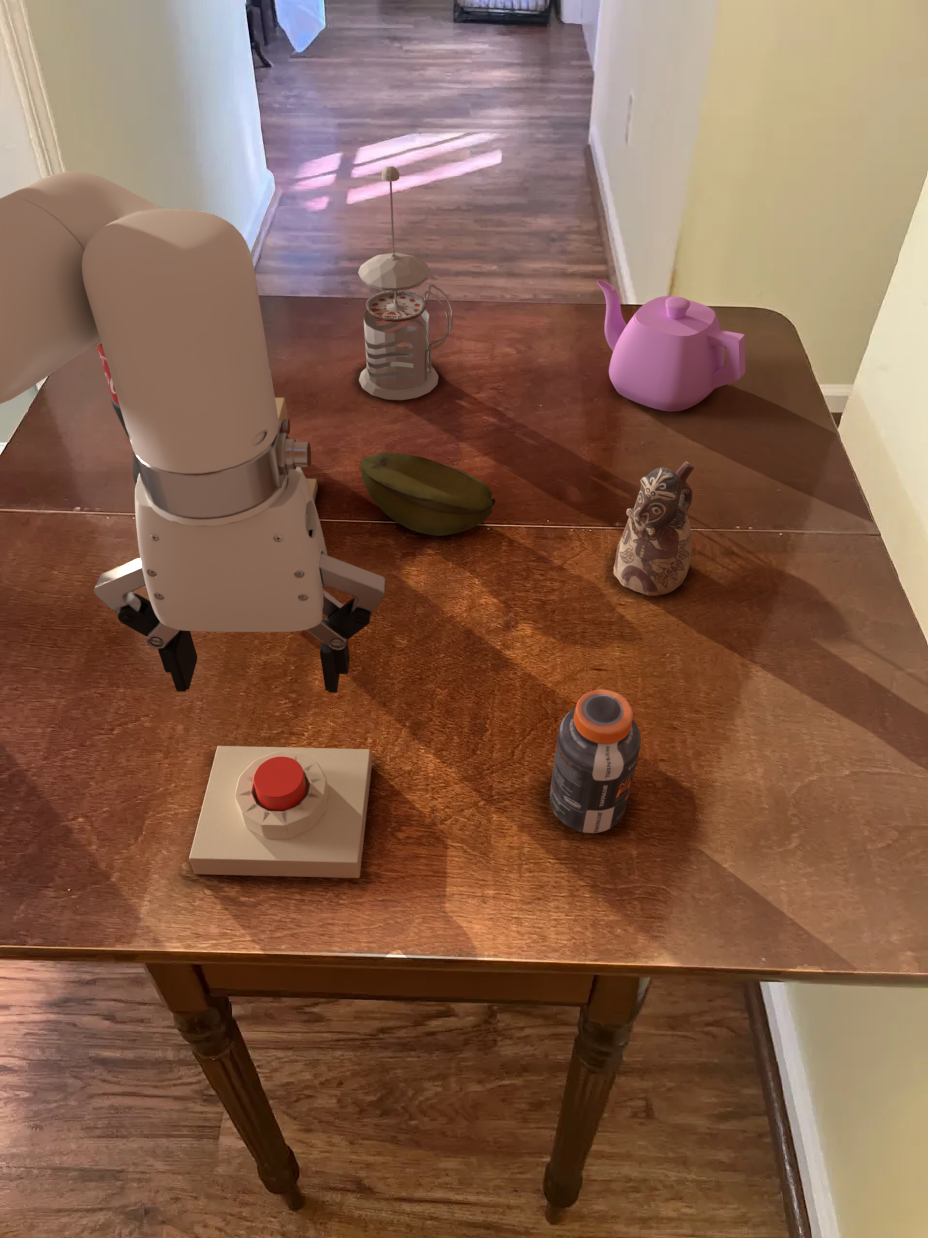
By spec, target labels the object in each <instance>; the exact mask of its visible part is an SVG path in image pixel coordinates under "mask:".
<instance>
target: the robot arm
mask: <svg viewBox="0 0 928 1238" xmlns="http://www.w3.org/2000/svg"><path fill="white" fill-rule="evenodd" d="M257 282H258V281H257V277H256V271H255V266H254V262H253V257H252V252H251V250H250V247H249V246H248V243H247V241H246V239H245V237H244V236H243V234H242V233H241V232H240V231H239V230H238V229H237V228H236V226H234V225H233V224H232V223H231V222H229V221H227V220H226V219H224V218H222V217H221V216H218V215H216V214H214V213H211V212H207V211H202V210H197V209H188V208H187V209H186V208H164V207H162V206H160V205H157V204H155V203H153V202H152V201H149V200H148V199H145V198H143V197H142V196H140V195H138V194H136V193H134V192H132V191H130V190H128V189H127V188H124V187H123V186H121V185H119V184H117V183H115V182H113V181H110V180H109V179H106V178H104V177H101V176H98V175H95V174H92V173H87V172H83V171H63V172H58V173H54V174H51V175H49V176H48V175H47V176H45V177H43V178H41V179H38V180H36V181H34V182H32V183H29V184H28V185H26V186H23V187H21V188H19V189H17V190H15V191H13V192H11V193H9V194H7V195H4V196H2V197H0V405H2V404H3V403H6V402H9V401H11V400H13V399H16V397H18V396H20V395H21V394H23V393H24V392H26V391H28V390H30V389H31V388H32V387H34V386H35V385H38V383H40V382H41V381H44V380H45V379H46V378H48V377H49V376H50V375H52V374H53V373H55V372H56V371H58V370H59V369H61V368H62V367H64V366H65V365H67V364H68V363H69V362H71V361H72V360H74V359H75V358H76V357H78V356H79V355H81V354H83V353H84V352H85V351H87V350H88V349H91V348H94V347H95V346H96V347H97V345H99V344H102V347H103V350H104V354H105V357H106V361H107V364H108V367H109V371H110V374H111V377H112V381H113V384H114V387H115V391H116V394H117V398H118V401H119V405H120V408H121V412H122V415H123V419H124V422H125V426H126V429H127V432H128V436H129V438H128V440H129V439H130V440H129V443H130V444H131V449H132V453H133V457H134V456H135V460H136V463H137V466H138V470H139V475H138V479H137V484H135V486H134V487H135V488H134V510H135V511H134V514H135V516H134V517H135V526H136V535H137V536H136V537H137V547H138V553H139V557H138V558H135V559H132V560H131V561H128V562H126V563H124V564H122V565H119V566H117V567H114V568H112V569H109V570H108V571H105V572H103V573H100V575H99V576H98V579H97V581H96V584H95V587H94V589H93V594H94V595H95V597H97V598H98V600H100V601H101V602H102V603H103V604H104V605H105V606H106V607H107V608H109V609H110V610H111V611H112V612H115V613H116V614H117V619H118V621H119V622H120V623H122V624H123V625H125V626H127V627H128V628H130V629H132V630H134V631H136V632H137V633H139V634H141V635H142V636H144V637H146V639H145V642H146V644H147V646H148V647H150V648H152V649H157V652H158V654H159V657H160V660H161V663H162V666H163V669H164V672H165V674H166V673H167V674H171V678H172V682H173V684H174V687H175V690H176V692H178V693H179V692H180V693H181V692H182V693H183V692H184V693H185V692H187V690H190V687H191V685H192V681H193V676H194V673H195V670H196V666H197V662H198V653H197V650H196V646H195V644H194V640H193V635H192V632H211V633H212V632H213V633H215V632H216V633H217V632H218V633H220V632H221V633H291V632H292V633H293V632H300V631H301V632H302V631H307V632H308V633H309V634H311V636H313V637H315V639H317V640H318V641H320V642H321V644H320V650H319V656H320V662H321V671H322V677H323V682H324V689H325V691H326V692H328V693H329V694H336V693H338V689H339V683H340V675H348V674H349V671H350V658H351V657H350V648H349V640H350V639H351V638H352V637H354V636H355V635H356V634H358V633H359V632H360V631H362V630H363V629H364V628H366V627H368V625H369V624H370V622H371V618H372V616H373V615H374V614H375V613H376V611H377V610H378V608H379V606H380V605H381V604H382V602H383V601H384V599H385V597H386V589H387V580H386V578H385V576H382V575H380V574H377V573H375V572H372V571H369V570H366V569H365V568H362V567H359V566H355V565H353V564H352V563H348V562H346V561H343V560H340V559H338V558H335V557H332V556H329V555H328V551H327V545H326V542H325V537H324V533H323V529H322V525H321V520H320V518H319V513H318V510H317V506H316V503H315V502H314V500H313V496H312V493H311V491H310V488H309V485H308V483H307V480H306V479H307V478H306V476H305V473H304V471H303V469H302V468H309V467H311V464H312V463H311V462H312V448H311V443H310V441H297V440H296V439H295V438H291V439H289V438H288V436H287V433H284V430H283V423H282V420H278V414H277V407H276V401H275V398H276V395H275V389H274V383H273V376H272V369H271V363H270V360H269V359H270V357H269V351H268V345H267V339H266V333H265V328H264V327H265V326H264V320H263V313H262V308H261V302H260V301H261V300H260V295H259V290H258V289H259V288H258V283H257ZM128 436H127V437H128ZM143 587H145V588H146V590H147V595H148V598H149V599H147V598H145V597H144V596H142V595H140V594H138V593H134V591H137V590H139V589H141V588H143ZM326 587H327V588H332V589H333V590H337V591H340V592H343V593H345V594H347V595H351V596H353V598H351V599H349V600H348V601H347V602H346V603H345V604H344V603H342V602H341V601H339V600H338V599H337V598H335V597H334V596H333V595H332V594H330V593H329V592H328V591H326V590H325V589H324V588H326Z"/></svg>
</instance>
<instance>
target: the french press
mask: <svg viewBox="0 0 928 1238" xmlns="http://www.w3.org/2000/svg"><path fill="white" fill-rule="evenodd" d="M381 179H382V181H385V182H389V198H390V221H391V247H392V252H390V253H383V254H377V255H375V256H373V257H372V258H370V259H368V260H366V261H364V263H362V264H361V265H360V266H359V269H358V272H357V274H358V276H359V277H360V279H361V281H362V282H363V284H365V285H367V286H369V287H370V288H373V289H377V290H380V291H383V292H378V293H376V294H373V295H372V296H370V297H369V298H368V299H366V301H365V304H364V308H365V310H366V311H365V312H364V314H363V329H364V345H365V347H364V348H365V361H366V367H365V368H364V369H362V371H361V372H360V375H359V378H358V383H359V384H360V386H361V388H362V390H364V391H365V392H367V393H368V394H370V395H371V396H373V397H375V398H376V397H377V398H380V399H384V400H391V401H404V400H405V401H406V400H411V399H417V398H419V397H422V396H424V395H427V394H429V393H430V392H431V391H433V389H434V388H435V387H436V386H437V385H438V383H439V375H438V373H437V371H436V369H435V368H434V367H433V366H432V350H434V349H438V348H439V347H440V346H442V345H443V344H444V343H445V341H446V340H447V338H448V336H449V335H450V332H452V329H453V328H452V327H453V322H454V321H453V320H454V309H453V306H452V302H451V300H450V299H449V297H448V295H447V294H446V293H445V292H444V291H443V290H442V289H441V288H439V287H438V286H437V285H435V284H433V283H432V284H431V283H430V284H429V285H428V286H427V290H425V291H424V292H423V296H420V295H419V294H417V293H415V292H410V291H407V290H411V289H414V288H417V287H419V286H421V285H422V284H424V282H426V281H427V280H428V278H429V276H430V272H431V268H430V266H429V265H428V264H427V263H426V262H425V261H424V260H422V259H420V258H419V257H417V256H415V255H412V254H411V255H410V254H406V253H401V252H395V231H394V228H395V227H394V206H393V182H397V181H398V180H400V172H399V170H398V169H397V168H396V167H395V166H394V165H391V166H385V167H384V168H383V169H382V170H381ZM432 288H434V289H435V290H437V291H438V292H440V293H441V295H442V296H443V297H444V298H445V301H446V303H447V304H448V307H449V309H450V316H449V313H448V310H447V308H446V306H445V304H444V302H442V300H441V299H440V298H439V297H438V296H437V295H436V294H435V293H434V292H432V290H431V289H432ZM430 296H432V297H433V298H435V299H436V300H437V301H438V303H439V304H440V305H441V307H442V308H443V310H444V313H445V316H446V332H445V335H443V336H441V338H438V339H435V340H432V341H431V337H430V333H431V332H430V329H431V328H430V313H429V312H428V310H427V305H428V303H427V301H428V300H429V298H430ZM420 316H421V318H422V319H423V320H424V321H425V323H424V322H423V320H421V319H419V317H420ZM382 321H383V322H389V323H386V324H383V325H377V322H382ZM406 322H407V323H413V322H415V323H416V324H417V325H419V326H421V327H419V328H418V327H417V326H415V325H405V326H403V327H400V328H398V329H396V330H393V331H391V332H384V331H386V330H390V329H392V328H394V327H397V326H399V325H401V324H405V323H406ZM402 343H407V344H406V345H403V346H397V345H399V344H402ZM436 343H438V344H437V345H434V344H436ZM433 345H434V346H433Z"/></svg>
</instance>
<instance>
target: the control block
mask: <svg viewBox="0 0 928 1238" xmlns="http://www.w3.org/2000/svg"><path fill="white" fill-rule="evenodd" d="M281 756H283V757H289V758H292V759H294V760H296V761H297V762H298V763H299V764H300V765H301V766H302V769H303V772H304V777H305V783H306V792H305V795H304V797H303V799H302V800H301V801H300V802H299V803H298V804H297V805H295V806H294V807H292V808H290V809H287V810H282V811H274V810H270V809H268V808H266V807H264V806H263V805H262V804H261V803H260V802H259V800H258V798H257V794H256V790H255V786H254V781H253V778H254V774H255V772H256V770H257V768H258V767H259V766H260V765H261V764H262V763H263V762H265V761H266V760H268V759H271V758H274V757H281ZM211 766H212V767H211V770H210V774H209V778H208V782H207V786H206V789H205V794H204V798H203V802H202V806H201V810H200V814H199V818H198V822H197V826H196V830H195V832H194V833H195V834H194V837H193V841H192V844H191V849H190V854H189V857H188V859H189V862H190V865H191V867H192V870H193V873H194V875H212V876H213V875H215V876H219V875H220V876H253V877H254V876H260V877H295V878H296V877H299V878H300V877H301V878H336V879H337V878H339V879H360V878H361V869H362V868H361V867H362V859H363V851H364V840H365V831H366V823H367V822H366V821H367V814H368V804H369V794H370V787H371V786H370V785H371V776H372V769H373V768H372V766H373V765H372V755H371V749H369V748H368V749H366V748H328V747H326V748H325V747H324V748H323V747H289V746H288V747H286V746H285V747H283V746H245V745H243V746H241V745H217V747H216V751H215V754H214V758H213V762H212V765H211Z"/></svg>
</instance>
